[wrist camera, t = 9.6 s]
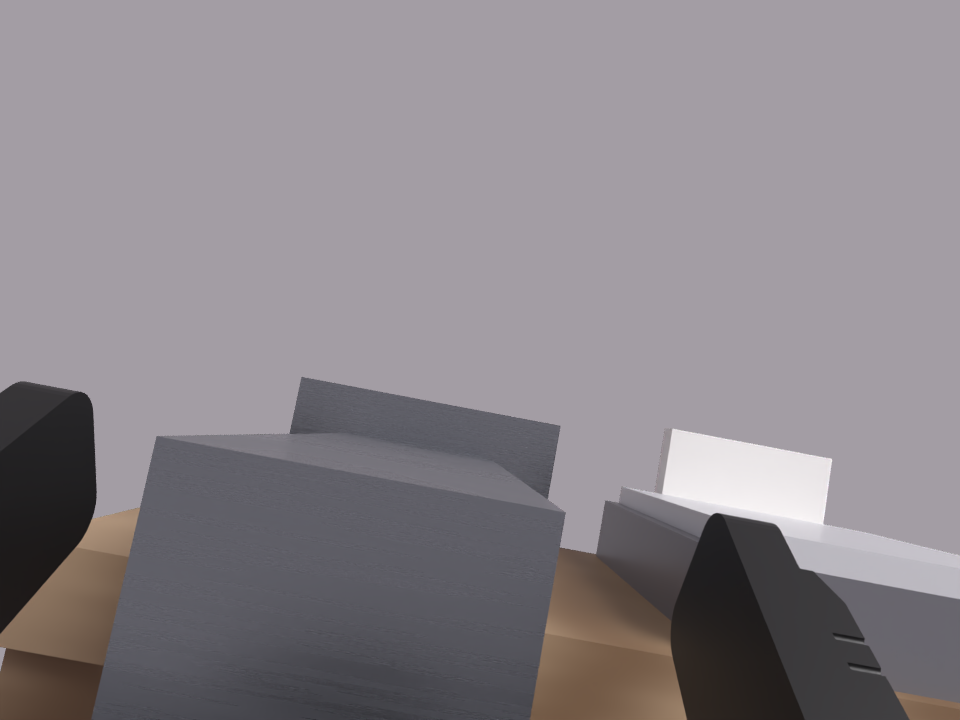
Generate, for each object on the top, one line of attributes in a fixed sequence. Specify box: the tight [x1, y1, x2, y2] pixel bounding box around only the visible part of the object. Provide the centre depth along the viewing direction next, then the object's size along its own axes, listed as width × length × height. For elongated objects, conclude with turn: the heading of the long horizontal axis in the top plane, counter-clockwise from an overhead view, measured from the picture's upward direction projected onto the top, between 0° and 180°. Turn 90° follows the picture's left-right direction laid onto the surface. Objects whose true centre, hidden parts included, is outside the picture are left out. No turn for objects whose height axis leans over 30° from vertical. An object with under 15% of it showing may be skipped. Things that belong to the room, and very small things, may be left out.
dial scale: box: [596, 429, 960, 703], centre depth 22 cm, size 10×13×5 cm
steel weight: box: [91, 377, 565, 720], centre depth 15 cm, size 6×20×4 cm, turn 2°
